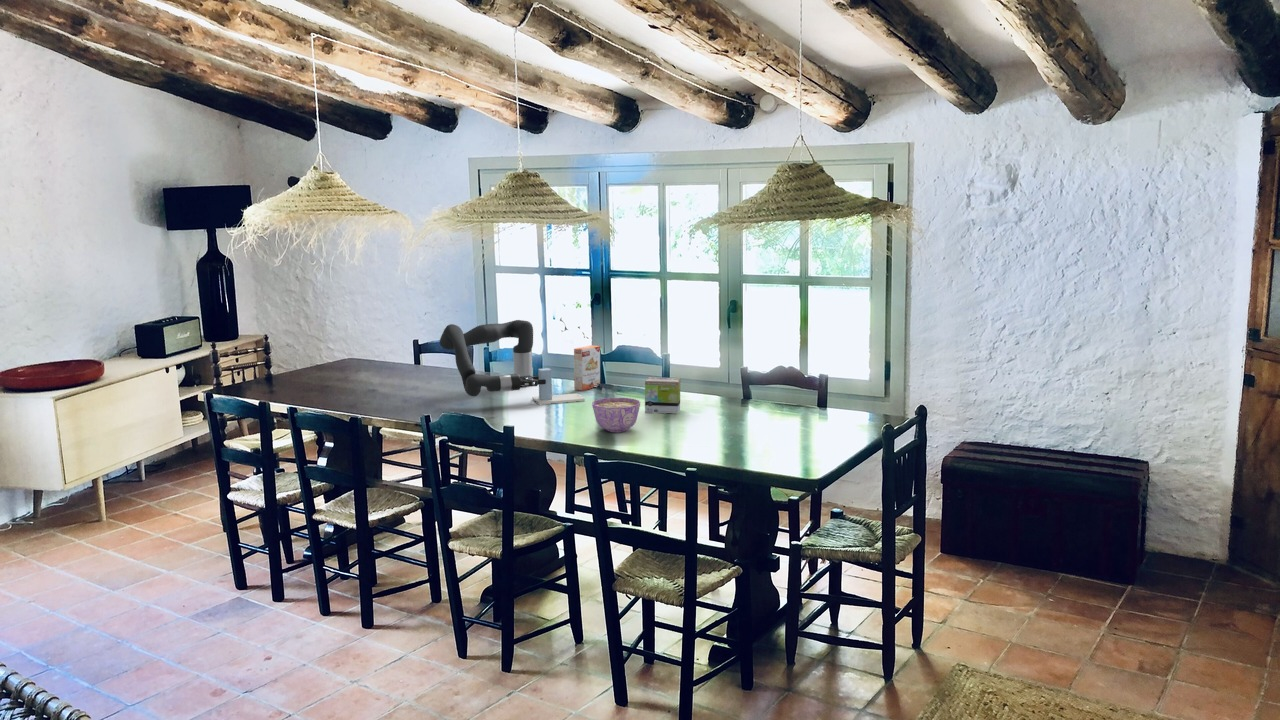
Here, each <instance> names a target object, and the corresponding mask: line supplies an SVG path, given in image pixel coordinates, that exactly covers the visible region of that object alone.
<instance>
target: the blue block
mask: <svg viewBox="0 0 1280 720" xmlns="http://www.w3.org/2000/svg"><path fill="white" fill-rule="evenodd" d="M537 371H538V372H537V374H538V375H537V376H539V380H542V379H545V380H546V384H541V385H538V396H539V398H540V399H541V400H551V399H552V395H553V379H552V378H553V377H552V369H551V368H549V367H548V368H538V369H537Z"/></svg>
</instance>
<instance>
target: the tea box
mask: <svg viewBox="0 0 1280 720" xmlns="http://www.w3.org/2000/svg"><path fill="white" fill-rule="evenodd" d="M680 409H681V378H680V377H656V376H655V377H653V376H652V377H651V376H650V377H649V376H648V377H647V378H646V380H645V381H644V413H645V414H666V413H678V414H679V411H680Z"/></svg>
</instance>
